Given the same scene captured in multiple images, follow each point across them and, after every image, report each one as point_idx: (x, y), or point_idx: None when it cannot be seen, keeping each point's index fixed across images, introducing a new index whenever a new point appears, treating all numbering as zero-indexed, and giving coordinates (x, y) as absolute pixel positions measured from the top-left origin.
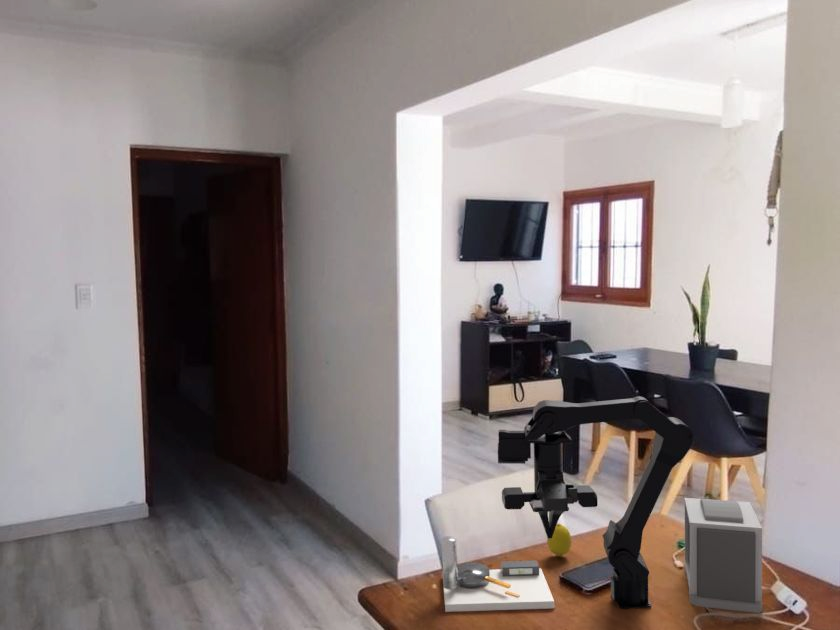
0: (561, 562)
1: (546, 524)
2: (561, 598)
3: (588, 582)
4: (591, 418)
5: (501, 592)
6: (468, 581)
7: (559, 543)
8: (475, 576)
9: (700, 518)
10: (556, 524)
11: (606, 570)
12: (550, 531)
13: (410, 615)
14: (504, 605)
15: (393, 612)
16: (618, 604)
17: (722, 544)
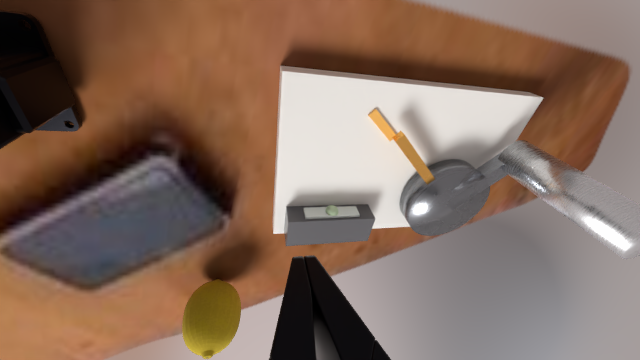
0: (216, 263)
1: (355, 342)
2: (247, 119)
3: (157, 190)
4: None
5: None
6: (471, 168)
7: (215, 303)
8: (456, 181)
9: None
10: (272, 353)
11: (103, 238)
12: (310, 292)
13: (592, 87)
14: (416, 83)
15: (606, 104)
16: (38, 34)
17: None
